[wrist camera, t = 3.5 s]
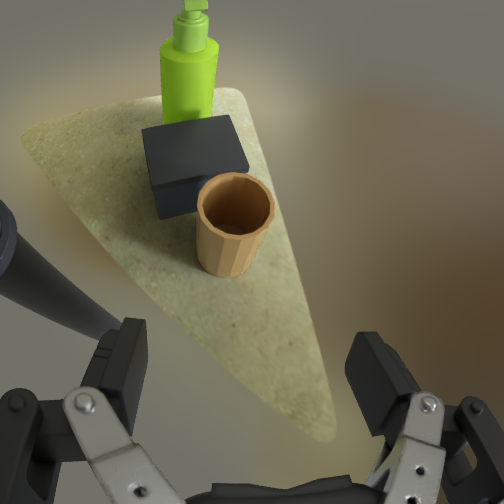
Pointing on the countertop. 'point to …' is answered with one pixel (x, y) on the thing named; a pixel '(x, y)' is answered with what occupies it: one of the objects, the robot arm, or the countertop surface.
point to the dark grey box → (190, 160)
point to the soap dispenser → (188, 66)
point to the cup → (232, 222)
